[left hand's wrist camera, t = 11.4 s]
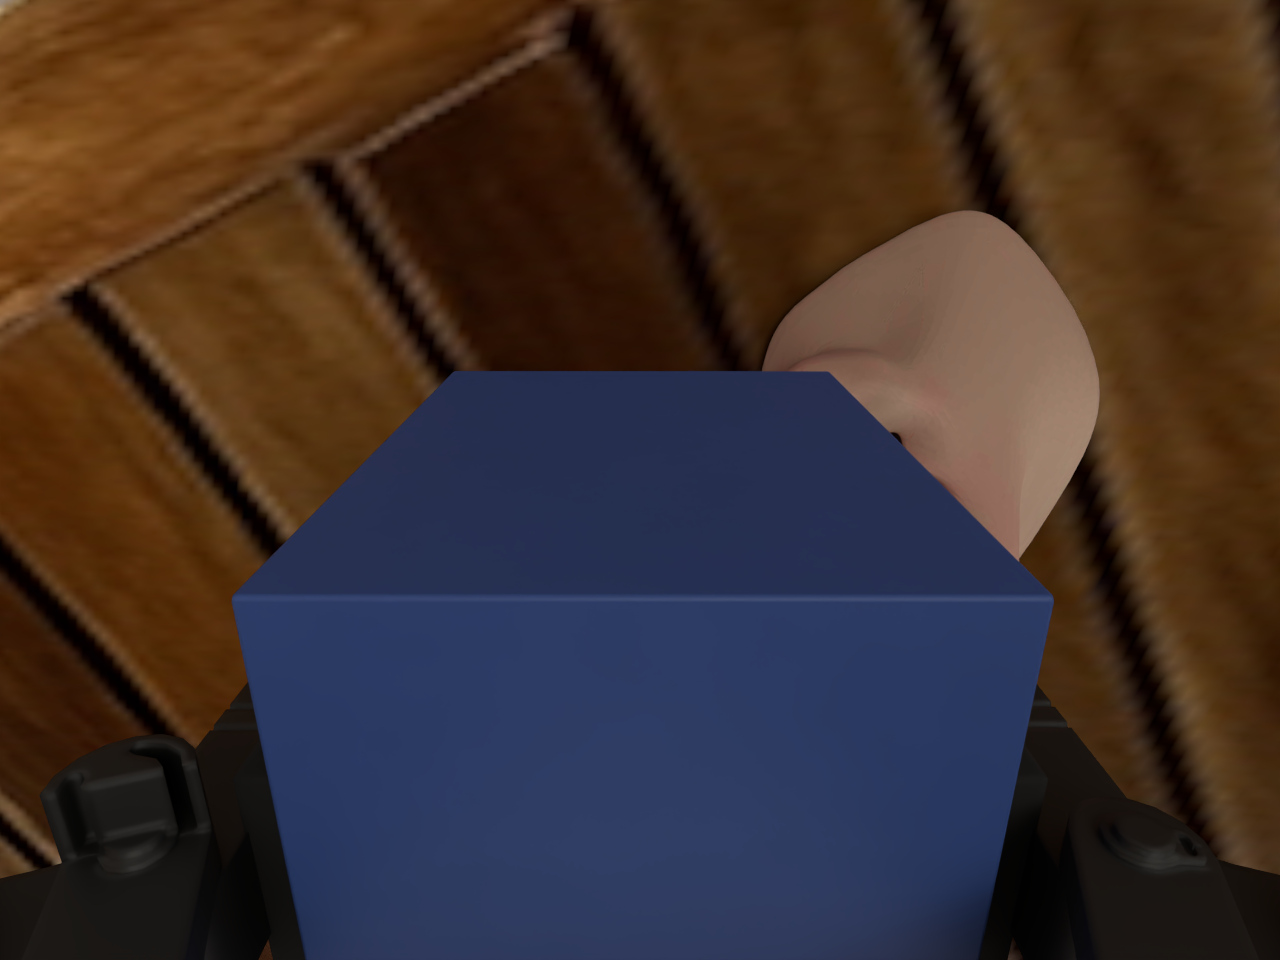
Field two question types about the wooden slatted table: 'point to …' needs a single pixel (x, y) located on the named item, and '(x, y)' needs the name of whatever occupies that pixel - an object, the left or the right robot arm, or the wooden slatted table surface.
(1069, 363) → the anatomical model
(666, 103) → the wooden slatted table surface
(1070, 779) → the left robot arm
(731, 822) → the block
